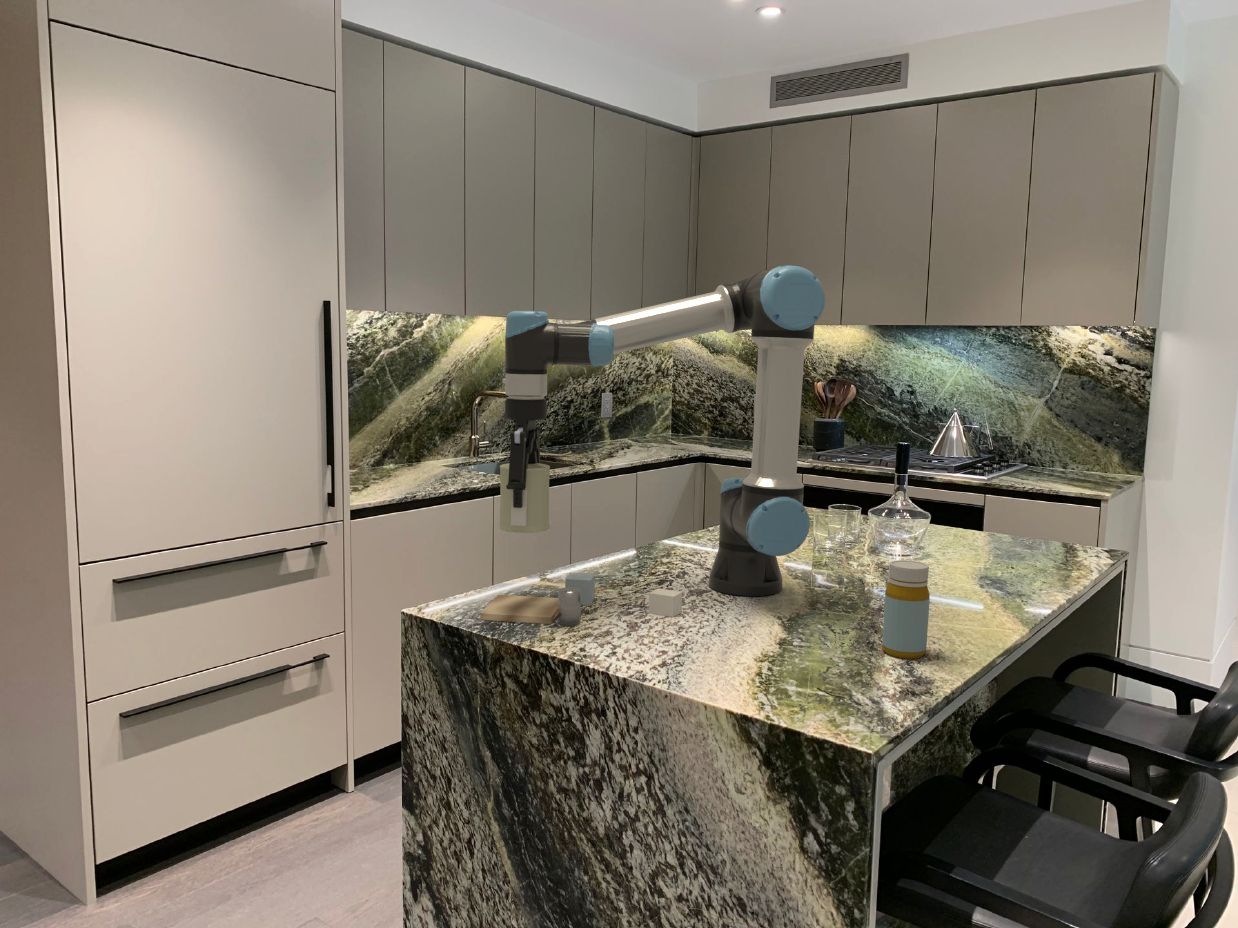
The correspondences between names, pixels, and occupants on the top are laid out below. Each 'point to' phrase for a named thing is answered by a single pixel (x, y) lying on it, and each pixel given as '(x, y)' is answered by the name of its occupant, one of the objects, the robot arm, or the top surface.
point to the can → (535, 499)
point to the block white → (665, 602)
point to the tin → (569, 606)
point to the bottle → (906, 610)
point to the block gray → (582, 586)
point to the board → (521, 609)
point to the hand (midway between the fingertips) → (524, 520)
